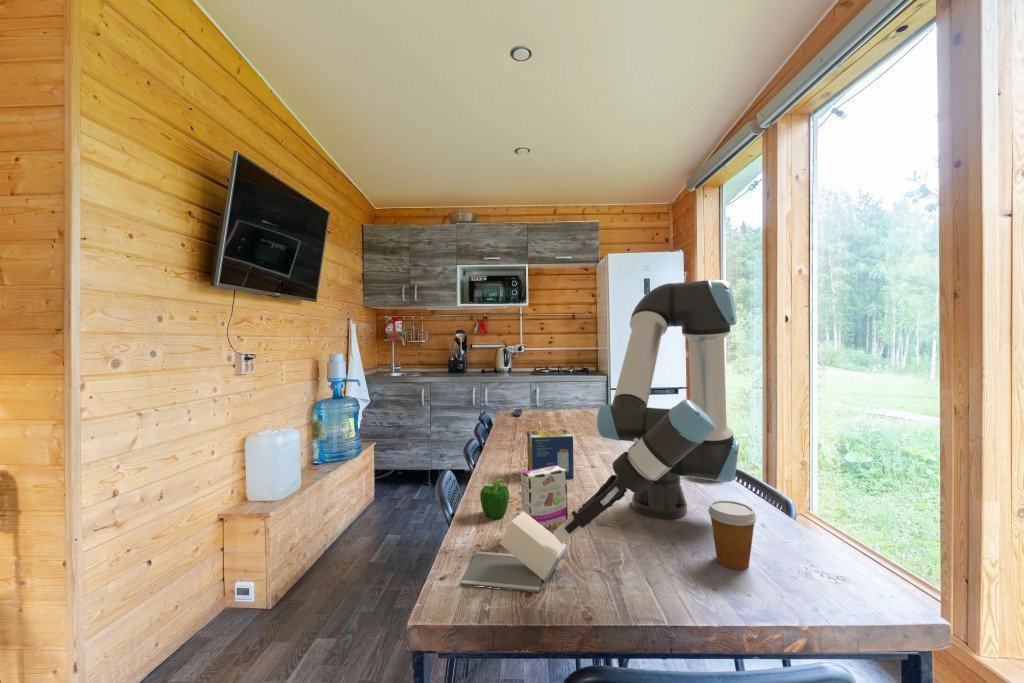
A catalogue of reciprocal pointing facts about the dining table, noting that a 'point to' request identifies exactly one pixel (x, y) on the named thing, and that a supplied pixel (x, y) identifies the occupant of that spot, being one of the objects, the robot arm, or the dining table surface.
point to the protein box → (550, 450)
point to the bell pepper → (494, 500)
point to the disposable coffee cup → (732, 532)
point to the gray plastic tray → (500, 573)
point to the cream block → (533, 545)
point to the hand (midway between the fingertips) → (558, 537)
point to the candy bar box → (545, 496)
